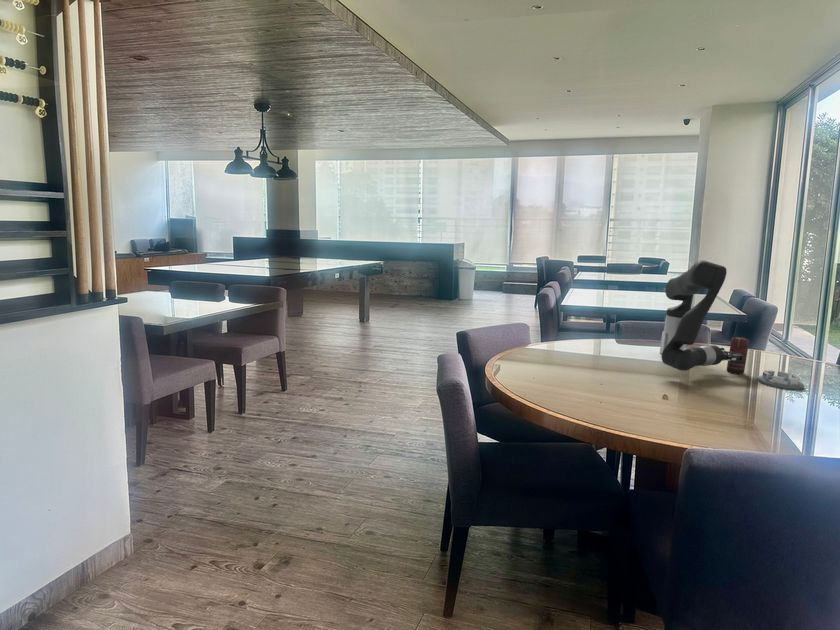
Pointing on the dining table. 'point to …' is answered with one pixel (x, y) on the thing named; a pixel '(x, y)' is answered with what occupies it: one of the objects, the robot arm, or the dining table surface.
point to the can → (738, 347)
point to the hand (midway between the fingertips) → (733, 353)
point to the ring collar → (780, 378)
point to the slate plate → (784, 386)
